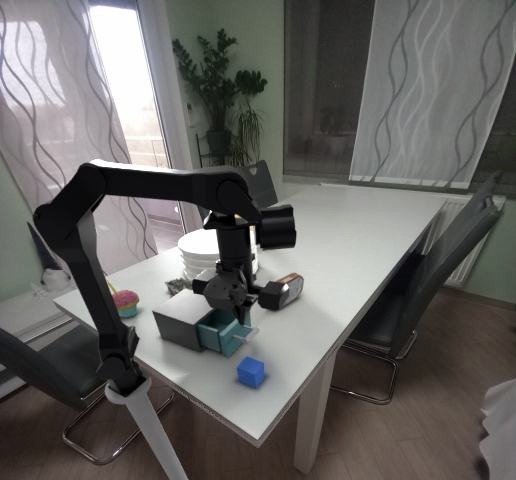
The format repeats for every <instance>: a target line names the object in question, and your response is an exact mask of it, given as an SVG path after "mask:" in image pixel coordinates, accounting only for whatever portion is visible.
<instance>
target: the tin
mask: <svg viewBox="0 0 516 480" xmlns="http://www.w3.org/2000/svg"><path fill="white" fill-rule="evenodd" d="M274 282H280V283H286V284H287V285H288V287H289V297H288V299H287V300H286V301H285V303H284V304H283V306H282V307H281V308H283V307H285V306H286V305H288V304H290V303H291V302H293V301H295V300H296V299H298V297H299V296H300V295H301V294H302V291H303V289H304V283H305V278H304V277H303V276H302V275H301V274H299V273H297V272H291V273H289V274H287V275H285V276H284V277H281V278H279V279H277V280H276V281H275V280H274Z"/></svg>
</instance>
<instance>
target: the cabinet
mask: <svg viewBox="0 0 516 480" xmlns="http://www.w3.org/2000/svg"><path fill="white" fill-rule="evenodd" d="M216 309H217V308H211V307H210V306H209V304H208V302H207V300H206V299H205V297H204V296H203V295H199V294H194V293H193V291H192V290H189V289H184V290H182V291H181V292H179V293H178V294H176V295H175V296H174V295H173V296H172V297H170V298H169V299H168V300H166V301H164V302H163V303H161V304H159V305H158V306H156V307H154V309H152V310H151V312H152V315H153V318H154V321H155V323H156V326H157V329H158V332H159V335H160V337H161V338H162V339H165V340H167V341H169V342H172V343H174V344H177V345H180V346H183V347H185V348H187V349H190V350H193V351H196V352H199V353H202V351H204V349H206V347H205V346H202V345H201V344H200V340H199V336H198V332H197V328H196V325H197V324H199V323H200V322H201V321H202V320H203V319H205V318H206V317H207V316H208V315H210V314H211V313H212V312H213V311H214V310H216Z"/></svg>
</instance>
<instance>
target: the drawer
mask: <svg viewBox="0 0 516 480" xmlns="http://www.w3.org/2000/svg"><path fill="white" fill-rule="evenodd" d="M196 328H197V332H198V336H199V340H200V344H201V345H202V346H205V348H208V349H210V350H213V351H215V352H218V353H221V352H222V356H223V358H226V359H228V358H229V357H231V355H233V353H234V352H235V351H236V350H237V348H239V346H240V345H241V344H242V343H243V344H244V345H248V344H249V343H250V342H251V341H252V340H253V339H254V338H255V337H256V335H257V334H258V333H259V332H260V328H259V327H258V326H255V327H253V326H252V319H251V312H250V313H249V315H248V318H247V321H246V323H245V325H244V326H242V325H240V324H239V322H238V321H237V319H236V317H235V315H234V314H233V312H232V310H230V311H224V310H222V309H218V308H217V309H216V310H214V311H213V312H212V313H211V314H210V315H208V316H207V317H206V318H205V319H203V320H202V321H201V322H200V323H199V324H197V325H196Z"/></svg>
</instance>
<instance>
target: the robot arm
mask: <svg viewBox="0 0 516 480" xmlns="http://www.w3.org/2000/svg"><path fill="white" fill-rule="evenodd" d="M106 196H111V197H112V196H113V197H122V198H123V197H124V198H137V199H148V200H160V201H172V202H183V203H188V204H191V205H194V206H197V207H200V208H202V209H204V210H205V211H209V213H208V215H207V216H206V218H205V219H204V220H203V226H202V229H204V230H214V229H216V236H217V243H218V250H219V257H220V260H218V261H217V262H216V271H212V270H205V271H203V272H202V273H201V274H199V275H198V276H197V277H195V278H194V279H193V280H192V284H191V285H192V290H193V293H194V294H199V295H203V296H204V297H205V299H206V300H207V302H208V304H209V306H210V307H211V308H218V309H222V310H224V311H230V310H232V312H233V314H234V315H235V317H236V319H237V321H238V322H239V324H240V325H242V326H244V325H245V323H246V321H247V318H248V315H249V313H250V314H251V310H252V307H253V306H254V305H255V304H256V303H257V304H258V306H259V307H260V308H261V309H264V310H268V311H274V312H276V311H280V310H281V309H282V308H283V307H284V306H283V304H284V303H285V301H286V300H287V299H288V297H289V287H288V285H287V284H286V283H280V282H275V280H274V281H273V280H269V281H267V283H266V284H265V285H264V286H262V284H260V283H256V282H255V281H257V274H256V273H255V274H253V267H252V261H254V260H255V254H254V253H252V251H251V236H250V226H253V229H252V231H253V233H254V242H255V245H257V246H259V249H260V250H261V251H262V252H263V251H264V252H265V251H274V250H287V249H294V248H295V247H296V244H297V234H298V233H297V230H296V220H295V216H294V210H295V209H294V206H292V204H290V203H287V204H282V205H279V206H268V207H260V206H259V205H258V202H257V200H256V199H253V197H252V196H251V195H250V190H249V187H248V184H247V181H246V179H245V176H244V175H243V174H242V172H241V171H240V170H239V169H238V168H237V167H235V166H233V165H230V164H225V165H215V166H206V167H200V168H194V169H175V168H165V167H155V166H146V165H136V164H127V163H116V162H108V161H104V160H102V159H99V158H98V159H92V160H89V161H86V162H83V163H81V164H80V165H79V166H78V168H77V170H76V172H75V174H74V175H73V176H72V178H71V179H70V180H69V181H68V182H67V183H66V184H65V185H64V186H63V188H62V189H60V191H58V193H57V194H56V195H55V196H54V197H53V198H51V199H49V200H47V201H46V202H44V203H41V204H39V205H38V206H37V207H36V208H35V210H34V212H33V214H32V223H33V226H34V228H35V230H36V232H38V234H39V236H40V237H41V238H42V240H43V241H44V243H45V245H46V247H48V249H49V250H50V251H51V252H52V253H54V254H55V255H56V256H58V257H59V258H60V259H61V260H62V261H64V262H65V264H66V266H67V268H68V271H69V272H70V275H71V276H72V279H73V281H74V283H75V285H76V287H77V290H78V291H79V294H80V296H81V298H82V300H83V303H84V305H85V307H86V309H87V311H88V313H89V316H90V318H91V320H92V322H93V325H94V327H95V329H96V331H97V351H98V354H99V359H100V363H99V365H98V367H97V369H96V372H95V374H94V375H95V376H96V377H97V378H98V379H99V380H101V381H106V382H107V383H109V386H108V388H109V389H110V390H112V391H114V392H115V393H117V394H119V395H121V396H123V397H124V398H126V397H128V396H129V395H130V394H131V393H133V392H134V391H135V390H136V389H137V388H138V387H140V386H141V385H142V384H143V383H144V382H145V381H146V380H147V378H146V377H144V376H142V371H141V369H142V368H141V367H140V365H139V363H138V361H136V360H135V359H134V357H135V354H136V351H137V348H138V345H139V342H140V339H141V338H140V337H139V336H138V334H137V332H136V329H137V328H136V326H135V325H130V326H128V325H127V324H126V323H124V322H123V321H122V319H121V315H120V314H119V313H118V310H117V307H116V305H115V302H114V299H113V297H112V295H113V294H112V291H111V288H110V286H109V284H108V281H107V278H106V276H105V273H104V271H103V268H102V265H101V263H100V260H99V257H98V252H97V251H98V249H97V247H98V246H97V245H98V243H97V242H98V233H97V228H96V222H95V216H94V212H96V210H97V209H98V208H99V206H100V205H101V204H102V202H103V201H104V200H105V198H106ZM235 214H236V215H238V216H240V217H241V218H235ZM282 306H283V307H282ZM144 379H145V380H144Z"/></svg>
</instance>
